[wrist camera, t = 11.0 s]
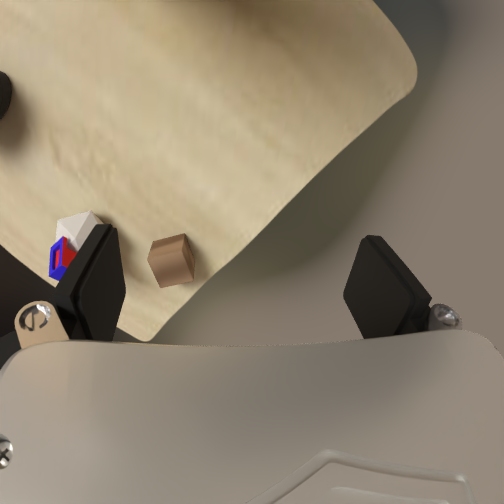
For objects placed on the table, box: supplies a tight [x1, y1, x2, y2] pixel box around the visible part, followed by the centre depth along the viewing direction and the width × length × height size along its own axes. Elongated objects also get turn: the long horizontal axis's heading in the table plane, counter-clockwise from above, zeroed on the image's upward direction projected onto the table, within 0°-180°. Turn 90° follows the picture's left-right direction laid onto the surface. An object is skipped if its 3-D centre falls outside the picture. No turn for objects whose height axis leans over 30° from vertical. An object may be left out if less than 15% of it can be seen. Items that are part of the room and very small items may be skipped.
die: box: [56, 211, 104, 253], centre depth 37 cm, size 8×9×10 cm
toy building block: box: [49, 236, 77, 281], centre depth 31 cm, size 3×4×7 cm
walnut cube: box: [147, 233, 195, 288], centre depth 42 cm, size 5×5×5 cm
